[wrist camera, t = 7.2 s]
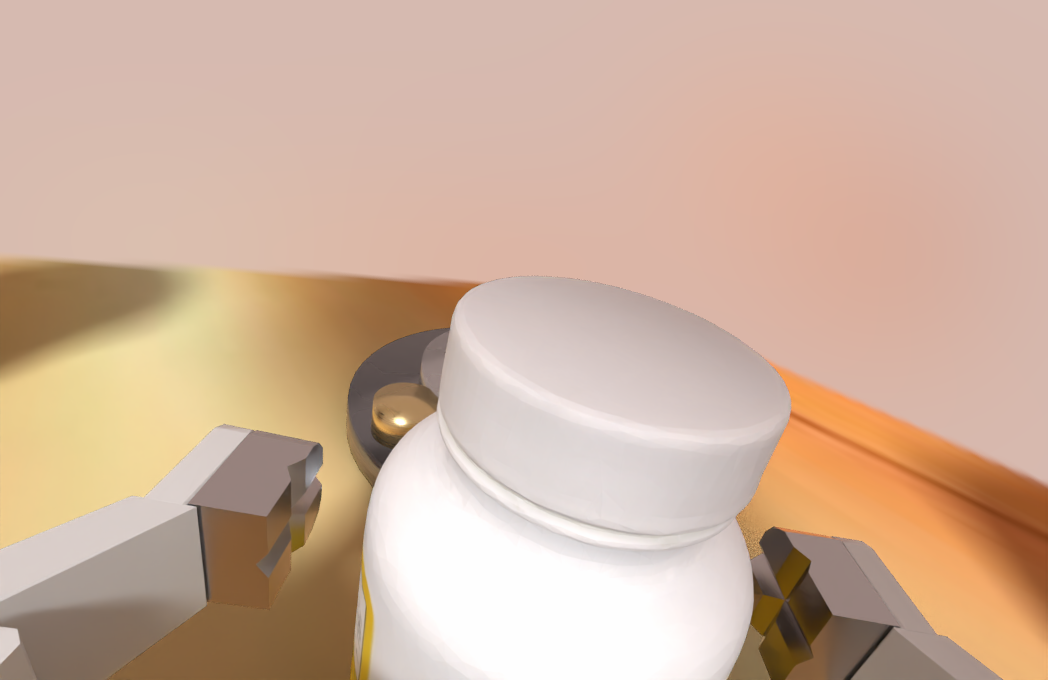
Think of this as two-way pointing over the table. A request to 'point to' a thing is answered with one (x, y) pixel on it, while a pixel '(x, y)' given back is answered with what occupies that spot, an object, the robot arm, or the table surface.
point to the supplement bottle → (570, 495)
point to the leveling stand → (393, 396)
